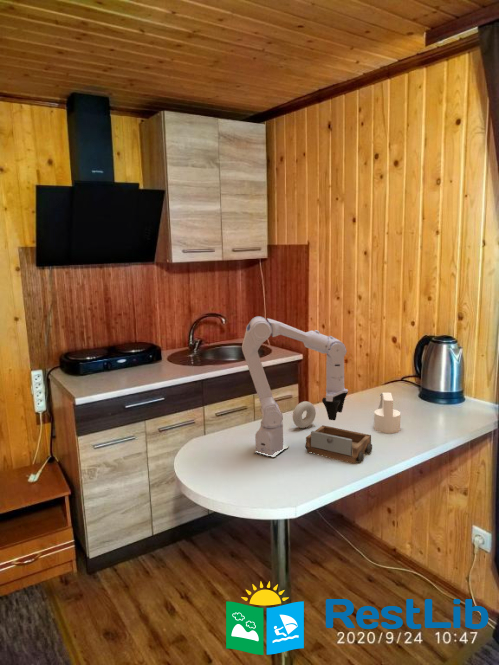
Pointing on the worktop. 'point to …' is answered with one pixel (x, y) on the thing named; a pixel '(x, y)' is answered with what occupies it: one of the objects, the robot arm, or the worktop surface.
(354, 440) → the box
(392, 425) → the cylinder with rectangular tab
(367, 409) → the worktop surface
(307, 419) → the donut
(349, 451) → the tailgate
